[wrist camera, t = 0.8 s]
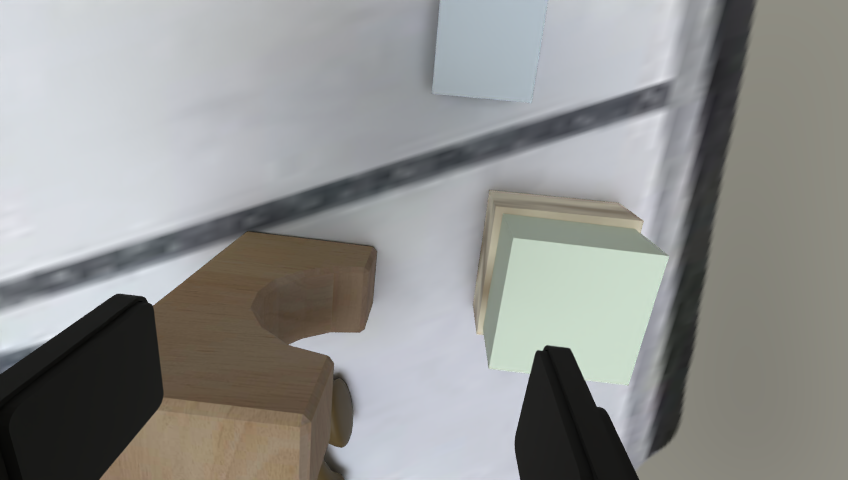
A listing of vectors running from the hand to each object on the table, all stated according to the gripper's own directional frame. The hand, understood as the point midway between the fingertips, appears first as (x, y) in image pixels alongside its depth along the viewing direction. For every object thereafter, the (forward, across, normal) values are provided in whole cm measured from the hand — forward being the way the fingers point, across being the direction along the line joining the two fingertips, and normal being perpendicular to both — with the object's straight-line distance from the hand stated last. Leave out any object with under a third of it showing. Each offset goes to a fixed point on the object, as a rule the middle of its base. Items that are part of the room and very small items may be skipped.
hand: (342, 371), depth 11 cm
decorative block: (+25, +8, +10) cm, 28 cm away
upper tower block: (+20, -11, +6) cm, 24 cm away
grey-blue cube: (+26, -4, -8) cm, 27 cm away
